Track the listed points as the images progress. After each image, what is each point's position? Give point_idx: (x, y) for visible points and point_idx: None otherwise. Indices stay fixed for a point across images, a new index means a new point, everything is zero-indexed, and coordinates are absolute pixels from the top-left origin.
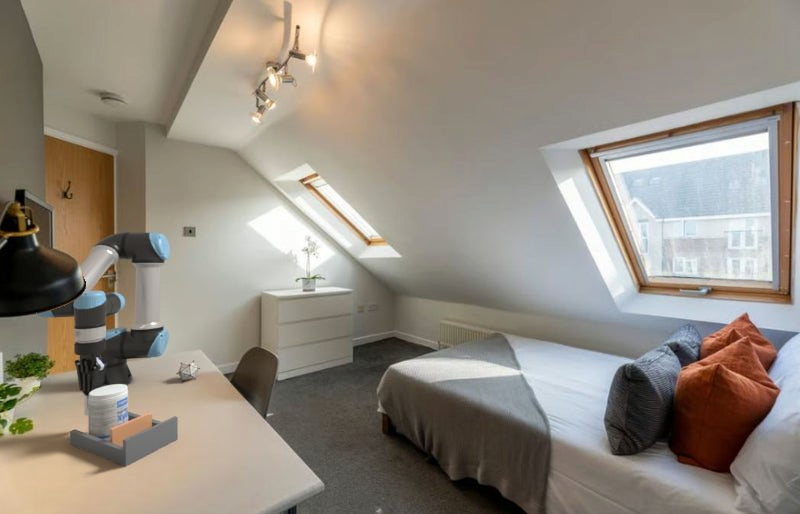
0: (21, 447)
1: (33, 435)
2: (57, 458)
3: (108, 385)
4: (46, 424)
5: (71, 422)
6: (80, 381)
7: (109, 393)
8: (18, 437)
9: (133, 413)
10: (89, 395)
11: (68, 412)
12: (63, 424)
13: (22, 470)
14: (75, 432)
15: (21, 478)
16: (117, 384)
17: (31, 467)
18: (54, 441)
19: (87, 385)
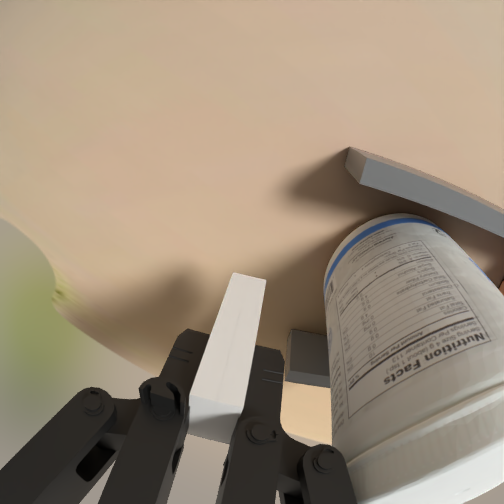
0: (152, 356)
1: (96, 302)
2: (326, 388)
3: (415, 488)
4: (47, 238)
5: (94, 205)
6: (82, 494)
7: (487, 490)
8: (78, 313)
9: (459, 194)
10: None
11: (15, 150)
12: (88, 225)
13: (289, 419)
14: (319, 384)
15: (319, 430)
16: (501, 448)
17: (298, 412)
18: (205, 329)
19: (167, 492)
